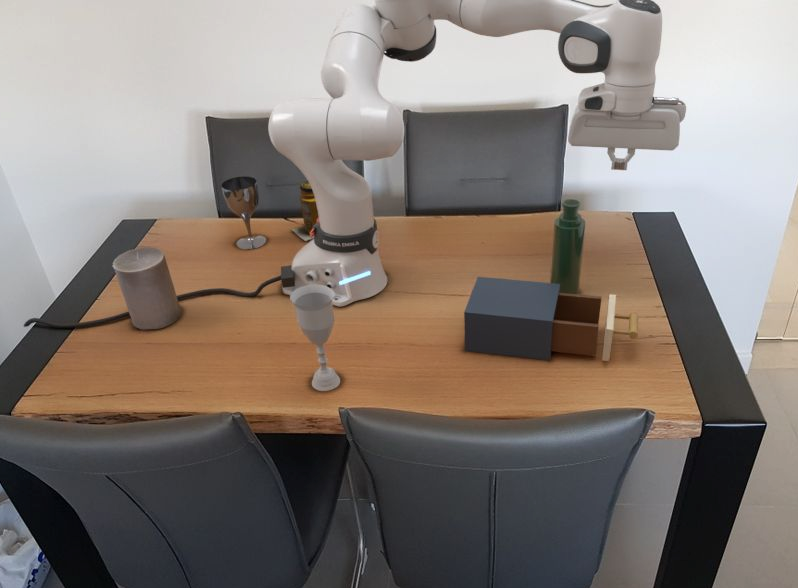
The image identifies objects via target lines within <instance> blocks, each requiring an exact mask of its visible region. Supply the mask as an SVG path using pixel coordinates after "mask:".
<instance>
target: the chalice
mask: <svg viewBox="0 0 798 588" xmlns="http://www.w3.org/2000/svg"><path fill="white" fill-rule="evenodd" d="M333 297H334V292H333V290H332V289H331V288H329V287H327V286H323V285H307V286H303V287H300V288H298V289H296V290H295V291H293V292H292V294H291V295H289V300H290V302H291V303H292V304H293V305H294V310H295V316H296V321H297V324H298V326H299V328H300V330H301V331H302V333H303V334H304V336H306V338H307V339H308V340H309V342H310V343H311V344H313V345H316V346H317V348H316V350H315V351H316V354H317V355H318V359H317V363H318V364H319V365H320V367H319V368H317V370H316V371H315V372H314V373H313V377H312V381H311V386H312V388H314V389H315V390H317V391H320V392H328V391H332V390H334V389H336V388H337V387H338V386H340V383H341V378H340V377H339V375H338V374H337V372H336V371H335V369H333V368H332V367H330V366H327V362H328V361H329V359H328V358H327V357H326V356H325V354H326V353H327V350H326V349H325V348H324V344H326V343H327V342H328V340H329V338H330V336H331V333H332V331H333V327H334V324H335V312H334V305H332V300H333Z"/></svg>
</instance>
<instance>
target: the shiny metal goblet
mask: <svg viewBox="0 0 798 588" xmlns="http://www.w3.org/2000/svg"><path fill="white" fill-rule="evenodd" d="M221 190H222V195H223V198H224V201H225V204H227V207H228V208H229V210H230V211H231V212H232V213H234V214H235V215H237V216H238V217H240V218H241V220H242V221H243V223H244V225H245V228H246V231H247V235H246V236H243V237H241V238H240V239H238V240H237V241H236V247H237V248H239V249H242V250H253V249H254V250H255V249H257V248H260V247H262V246H264V245H265V244H266V243H267V238H266V237H265V236H263V235H259V234H252V230H251V217H252V216H253V214H254V213H255V211H256V209H257V208H258V206H259V199H260V195H259V193H260V192H259V186H258V181H257V179H256V178H255V177H252V176H244V175H243V176H235V177H232V178H228V179H227V180H224V181H223V182H222V183H221Z"/></svg>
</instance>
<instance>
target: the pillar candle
mask: <svg viewBox="0 0 798 588" xmlns="http://www.w3.org/2000/svg"><path fill="white" fill-rule="evenodd" d="M112 268H113V269H114V272H115V275H116V278H117V282H118V283H119V287H120V290H121V293H122V295H123V296H122V297H123V298H124V301H125V304H126V308H127V310H128V311H129V314H130V316H129V317H130V319H131V322H132V324H133V326H134V327H135V328H137V329H139V330H142V331H143V330H160V329H163V328H164V329H165V328H166V327H168V326H170V325H172V324H173V323H175V322H176V321H177V320H178V319H179V318H180V316H181V314H182V309H181V307H180V302H179V300H178V299H177V296H178V295H177V293H176V290H175V289H176V288H175V286H174V283H173V280H172V276H171V273H170V270H169V265H168V263H167V260H166V257H165V253H164V251H162V250H161V249H159V248H156V247H151V246H150V247H147V246H145V247H137V248H133V249H129V250H127V251H125V252H122V253H121V254H118V256H116V258H115V259H114V260H113V262H112ZM128 311H127V312H128Z"/></svg>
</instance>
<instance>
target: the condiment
mask: <svg viewBox="0 0 798 588" xmlns="http://www.w3.org/2000/svg"><path fill="white" fill-rule="evenodd" d="M299 189H300V196H299V202H300V208H301V213H302V220H303V226H300V227H295V228H292V229H291V230H292V232H294V233H295V235H297V236H298V237H299V238H301V239H302V240H303V241H304V242H307V241H309V240H310V241H311V240H313V239H314V236H313V237H312V238H310V235H311V234H310V232H311V231H312V229H313V228H312V227H313V226H314V225H315V224H316V223H317V219H318V218H319V216H318V210H317V205H316V201H315V197H314V193H313V190H312V188H311V186H310V184H309V182H308V180H306V181H304V182H303V181H302V183H301V184H300V186H299Z"/></svg>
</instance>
